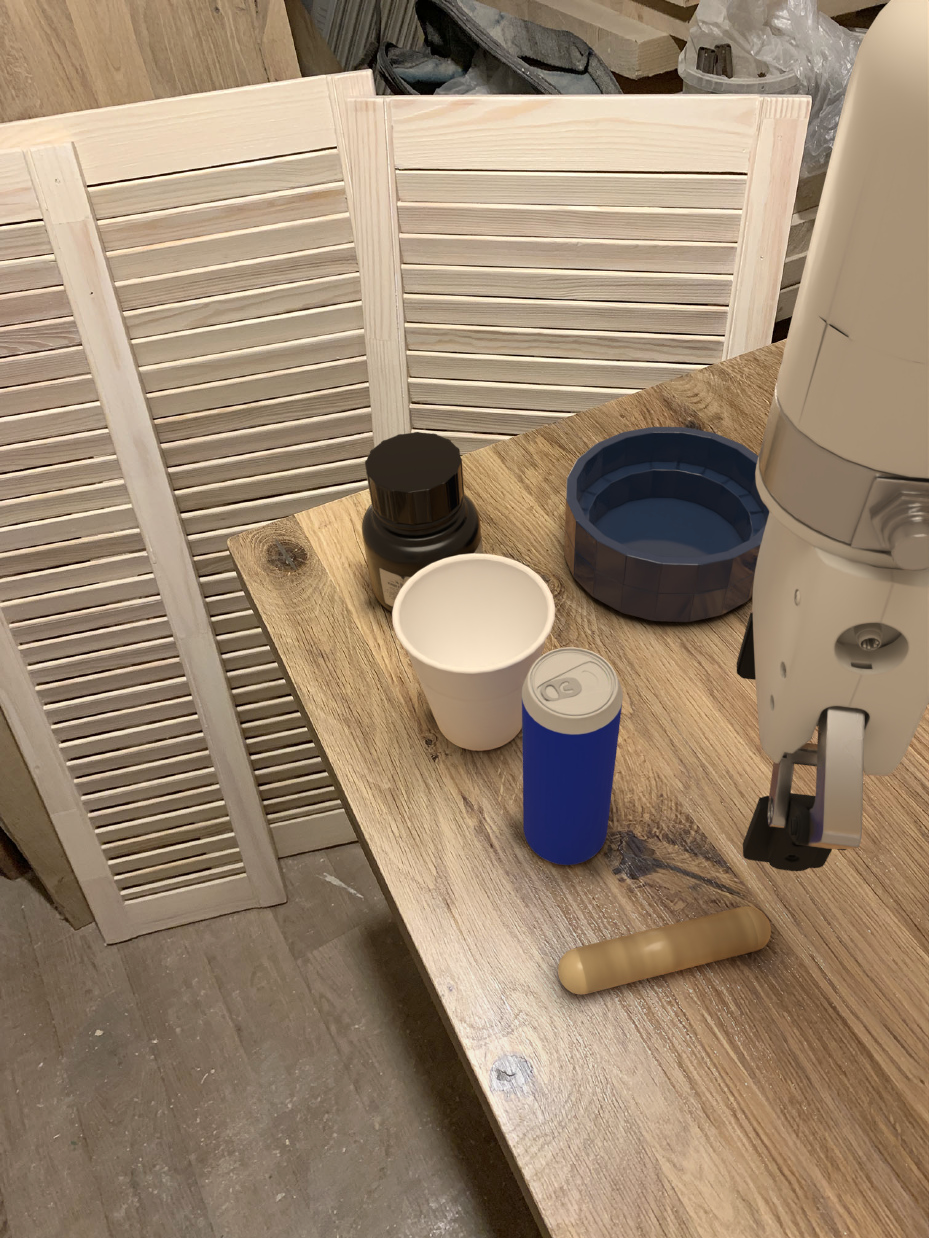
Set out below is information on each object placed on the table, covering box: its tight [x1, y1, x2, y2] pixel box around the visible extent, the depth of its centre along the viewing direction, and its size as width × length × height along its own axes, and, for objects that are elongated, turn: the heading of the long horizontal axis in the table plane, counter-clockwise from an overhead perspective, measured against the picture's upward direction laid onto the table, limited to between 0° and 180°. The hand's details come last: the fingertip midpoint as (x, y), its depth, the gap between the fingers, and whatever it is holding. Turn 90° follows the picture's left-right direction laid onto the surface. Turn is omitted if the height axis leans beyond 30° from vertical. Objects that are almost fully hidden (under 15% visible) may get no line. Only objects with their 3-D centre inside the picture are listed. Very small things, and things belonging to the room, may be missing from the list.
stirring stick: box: [557, 905, 772, 995], centre depth 51 cm, size 12×2×2 cm, turn 103°
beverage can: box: [521, 646, 624, 866], centre depth 52 cm, size 5×5×15 cm
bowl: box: [563, 426, 769, 623], centre depth 72 cm, size 16×16×6 cm
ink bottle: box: [361, 431, 484, 613], centre depth 69 cm, size 10×9×12 cm
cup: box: [391, 553, 556, 752], centre depth 60 cm, size 10×10×11 cm
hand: (774, 759), depth 41 cm, fingers open, 9 cm apart
